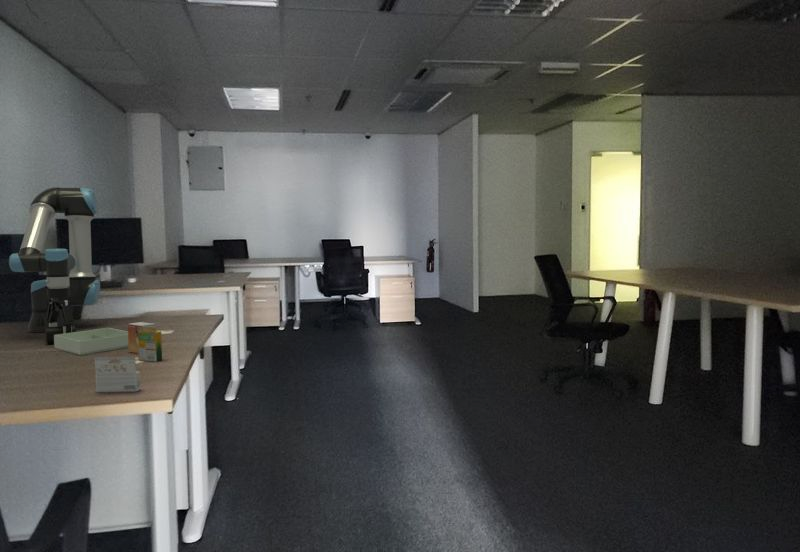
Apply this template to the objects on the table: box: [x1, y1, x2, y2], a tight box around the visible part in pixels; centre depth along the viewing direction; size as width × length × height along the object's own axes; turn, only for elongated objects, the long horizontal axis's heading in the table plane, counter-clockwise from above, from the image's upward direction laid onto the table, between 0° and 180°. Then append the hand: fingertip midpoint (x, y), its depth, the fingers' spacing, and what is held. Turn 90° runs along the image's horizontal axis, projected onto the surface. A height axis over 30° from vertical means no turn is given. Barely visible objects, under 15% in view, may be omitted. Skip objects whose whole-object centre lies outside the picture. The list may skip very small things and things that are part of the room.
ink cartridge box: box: [93, 355, 141, 393], centre depth 141 cm, size 2×11×10 cm, turn 92°
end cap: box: [44, 324, 77, 345], centre depth 208 cm, size 10×7×7 cm
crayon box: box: [138, 326, 163, 362], centre depth 177 cm, size 7×3×12 cm, turn 74°
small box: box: [127, 321, 156, 355], centre depth 190 cm, size 8×6×10 cm
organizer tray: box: [53, 327, 129, 356], centre depth 199 cm, size 22×20×5 cm
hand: (60, 340), depth 208 cm, fingers open, 13 cm apart
